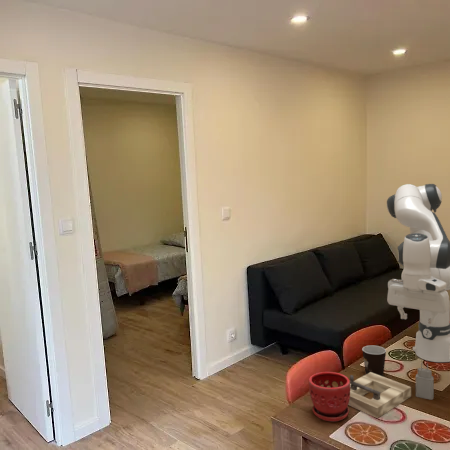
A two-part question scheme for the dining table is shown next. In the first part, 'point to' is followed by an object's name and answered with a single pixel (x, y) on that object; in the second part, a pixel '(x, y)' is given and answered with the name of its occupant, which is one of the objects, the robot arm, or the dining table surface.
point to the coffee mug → (374, 359)
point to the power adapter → (424, 383)
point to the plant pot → (330, 396)
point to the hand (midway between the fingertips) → (417, 321)
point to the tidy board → (377, 394)
